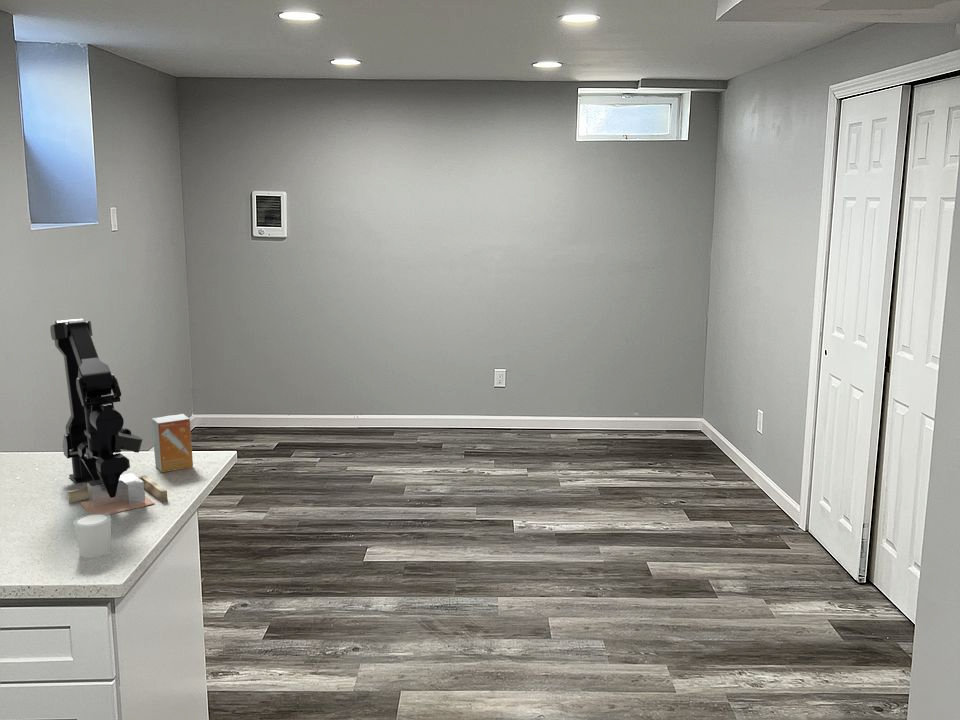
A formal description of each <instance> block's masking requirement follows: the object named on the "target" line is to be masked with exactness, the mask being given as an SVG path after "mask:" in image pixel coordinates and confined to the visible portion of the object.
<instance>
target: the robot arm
mask: <svg viewBox="0 0 960 720" xmlns="http://www.w3.org/2000/svg"><path fill="white" fill-rule="evenodd" d="M49 329H50V331H49V332H50V338H51V340H52V341H53V342H54V346H55V348H56V349H57V350H58V351H59V353H60V354H61V355H62V357H63V360H64V361H63V362H64V369H65V370H64V371H65V378H66V387H67V392H68V394H67V395H68V402H69V408H70V416H69V419H68V420H67V423H66V425H65V434H63V439H62V451H63V455H64V456H65V458H66V459H71V465H72V466H71V467H72V468H71V469H72V474H70V473H69V474H68V476H69V478H70V479H71V480H72V481H73V482H74V483H76V484H77V483H82V482H89V481H92V480H93V481H96V480H101V481H102V483H103V485H104V487H105V489H106V491H107V493H108V494H109V496H110V498H113V497H115V496H116V492H117V487H118V482H119V478H120V476H121V475H122V474H123V473H125V472H127V470H128V469H130V468H131V465H130V464H131V462H130V459H129V458H127V457H126V456H125V455H124V454H122V450H123V451H131V452H133V453H137V454H139V453H140V452H141V451H140V450H141V448H142V447H141V446H142V443H143V438H141V437H139V436H138V435H135V434H132V431H131V430H130V429H129V428H125V427H124V422H125V421H124V417H123V415H122V414H121V413H120V412H119V411H118V410H117V409H116V408H115V405H114V403H119V402H121V397H122V391H121V389H120V384H119V381H118V379H117V378H116V376H115V375H114V373H112V372H111V370H110V368H109V366H108V364H106V363H104V362H103V361H102V360H100V359H99V355H98V352H97V349H96V347H95V345H94V342H93V338H92V336H93V329H92V322H91V320H85V319H83V318H82V317H81V318H80V317H78V318H69V319H57V320H56V319H55V321H54V324H52V325H50V328H49Z"/></svg>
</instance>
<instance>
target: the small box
mask: <svg viewBox="0 0 960 720" xmlns="http://www.w3.org/2000/svg"><path fill="white" fill-rule="evenodd" d="M151 426H152V438H153V451H154V461H155V468H157V469H158V470H159V471H160V473H166V472H170V471H178V470H185V469H190V468H193V467H194V464H193V462H194V461H193V459H194V458H193V446H192V433H191V418H190V417H188V416H187V415H186V414H184V413H180V414H173V415H172V414H171V415H166V416H165V415H164V416H159V417H152V418H151Z"/></svg>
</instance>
